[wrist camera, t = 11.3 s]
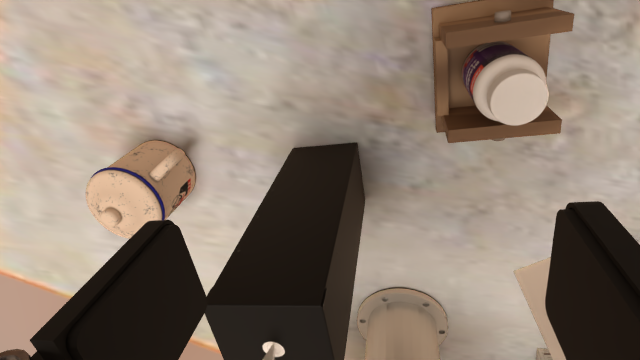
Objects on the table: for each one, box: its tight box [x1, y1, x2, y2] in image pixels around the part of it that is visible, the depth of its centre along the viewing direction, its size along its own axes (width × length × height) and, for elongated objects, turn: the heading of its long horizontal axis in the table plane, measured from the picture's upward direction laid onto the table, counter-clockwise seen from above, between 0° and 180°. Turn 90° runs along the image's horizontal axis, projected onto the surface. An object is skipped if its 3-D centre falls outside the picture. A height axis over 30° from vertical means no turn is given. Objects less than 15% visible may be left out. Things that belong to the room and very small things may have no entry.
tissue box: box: [205, 143, 365, 360], centre depth 34 cm, size 8×8×28 cm
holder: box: [432, 0, 574, 143], centre depth 35 cm, size 12×10×7 cm
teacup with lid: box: [86, 141, 195, 238], centre depth 45 cm, size 12×9×12 cm
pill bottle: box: [462, 41, 549, 126], centre depth 33 cm, size 5×5×10 cm
